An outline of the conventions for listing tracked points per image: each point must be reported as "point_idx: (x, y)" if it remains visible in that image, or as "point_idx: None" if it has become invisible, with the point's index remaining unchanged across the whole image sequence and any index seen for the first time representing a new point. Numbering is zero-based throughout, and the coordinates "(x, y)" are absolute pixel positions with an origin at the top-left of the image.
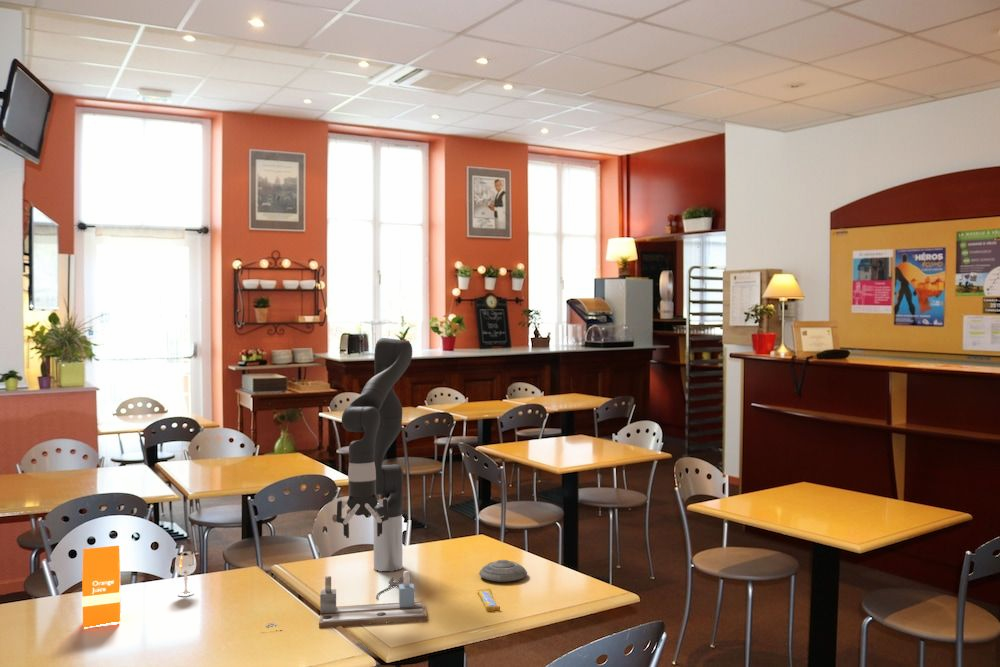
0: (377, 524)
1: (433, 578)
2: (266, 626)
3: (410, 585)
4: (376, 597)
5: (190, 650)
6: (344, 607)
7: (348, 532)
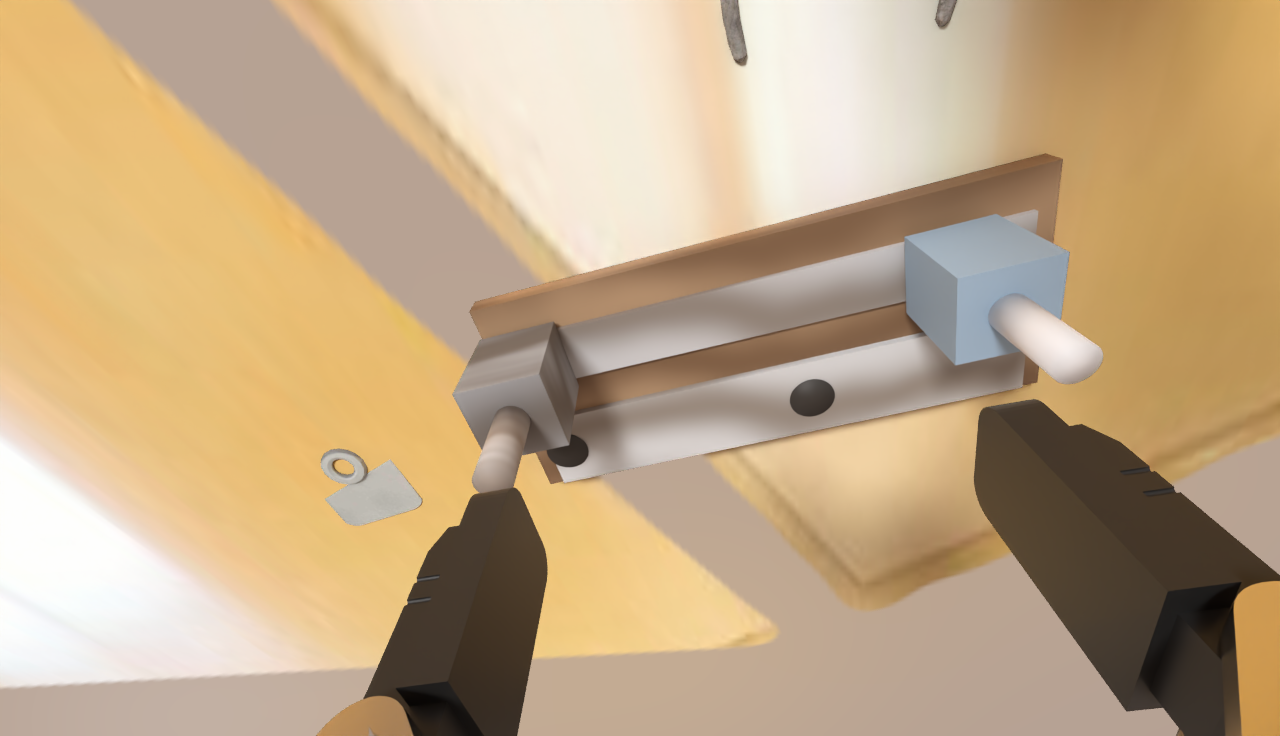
0: (1118, 686)
1: None
2: (334, 480)
3: (1039, 296)
4: (729, 29)
5: (238, 638)
6: (599, 321)
7: (534, 635)
